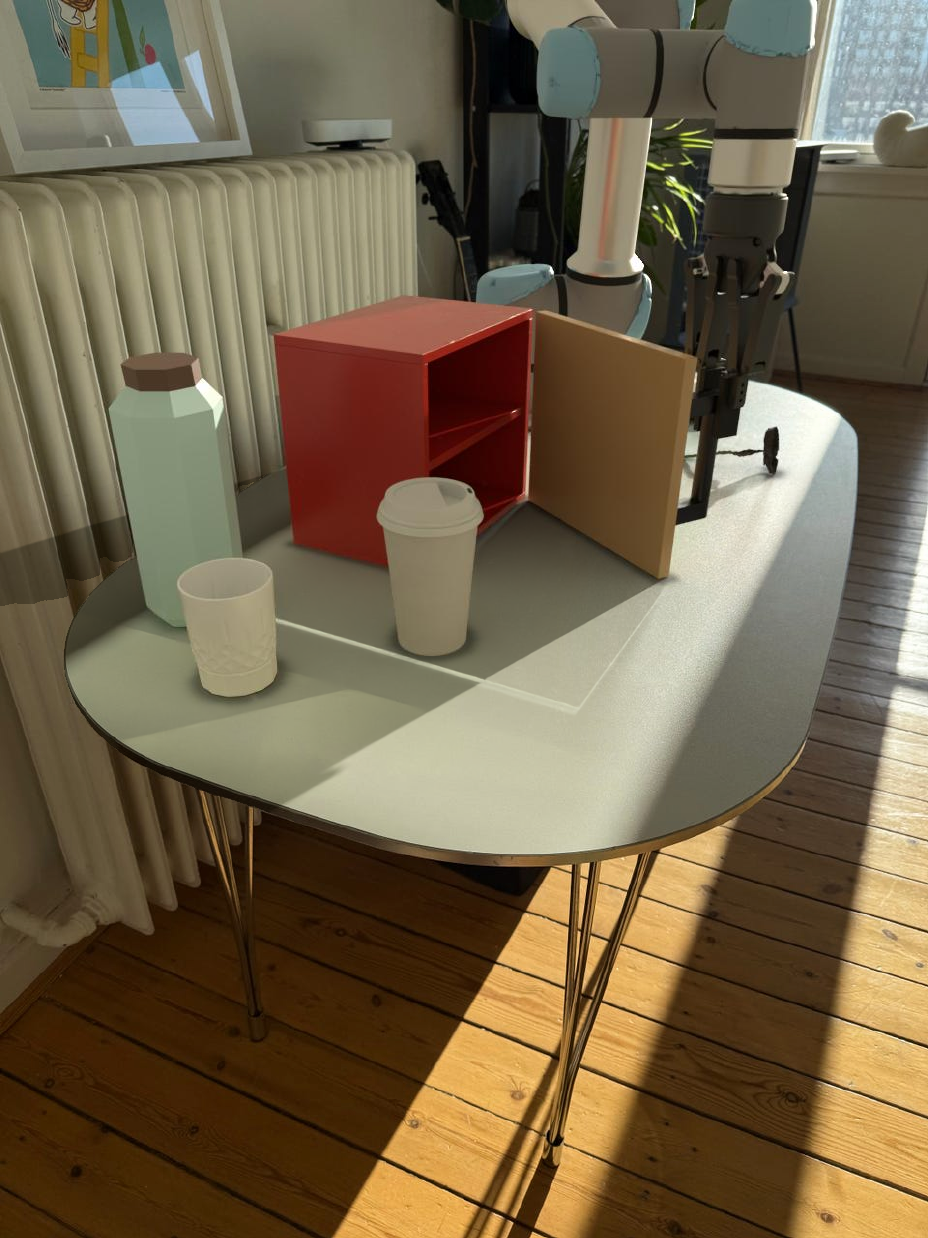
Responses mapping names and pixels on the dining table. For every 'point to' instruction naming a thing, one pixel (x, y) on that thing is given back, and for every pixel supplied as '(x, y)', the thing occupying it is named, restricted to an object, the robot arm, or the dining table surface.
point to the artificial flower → (768, 451)
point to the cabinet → (401, 412)
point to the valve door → (617, 438)
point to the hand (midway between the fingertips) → (714, 432)
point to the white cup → (231, 624)
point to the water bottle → (174, 473)
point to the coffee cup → (430, 560)
